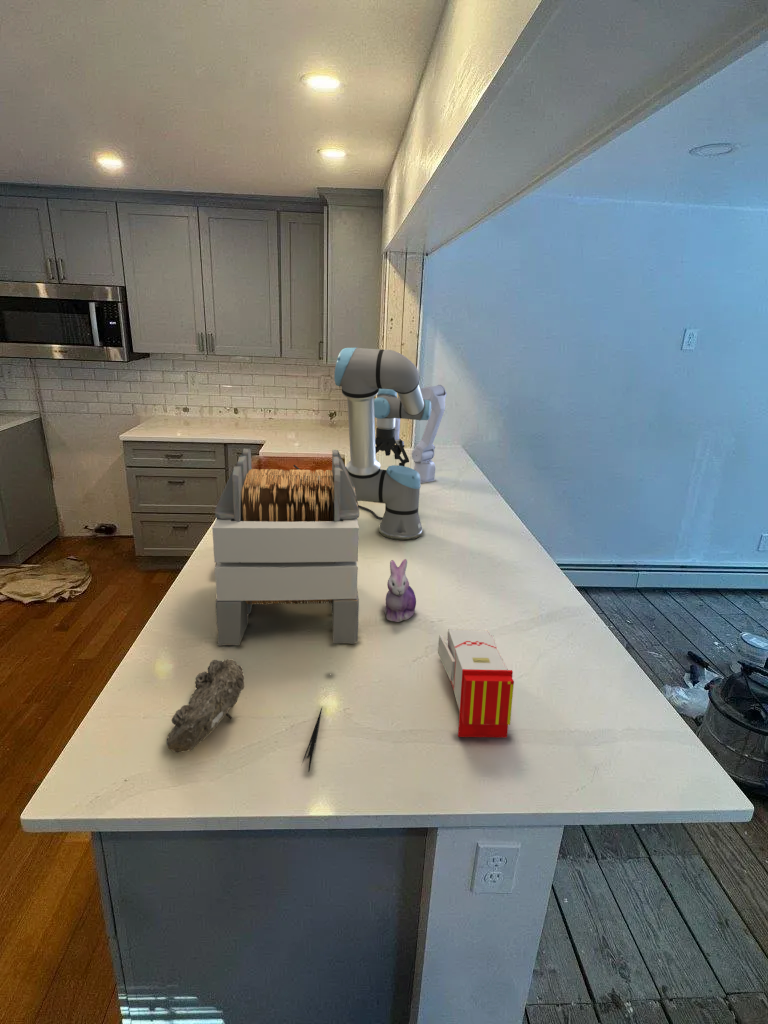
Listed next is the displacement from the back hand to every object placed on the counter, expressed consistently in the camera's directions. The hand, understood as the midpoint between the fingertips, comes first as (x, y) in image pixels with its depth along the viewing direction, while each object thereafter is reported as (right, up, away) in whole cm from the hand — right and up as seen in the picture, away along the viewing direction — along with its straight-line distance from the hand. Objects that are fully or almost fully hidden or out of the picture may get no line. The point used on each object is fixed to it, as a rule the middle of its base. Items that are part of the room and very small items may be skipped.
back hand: (392, 457), depth 274 cm
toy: (+14, -64, -155) cm, 168 cm away
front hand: (-4, -13, -42) cm, 44 cm away
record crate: (-28, -52, -126) cm, 140 cm away
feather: (-16, -66, -165) cm, 178 cm away
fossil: (-37, -66, -165) cm, 182 cm away
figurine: (0, -53, -126) cm, 137 cm away
